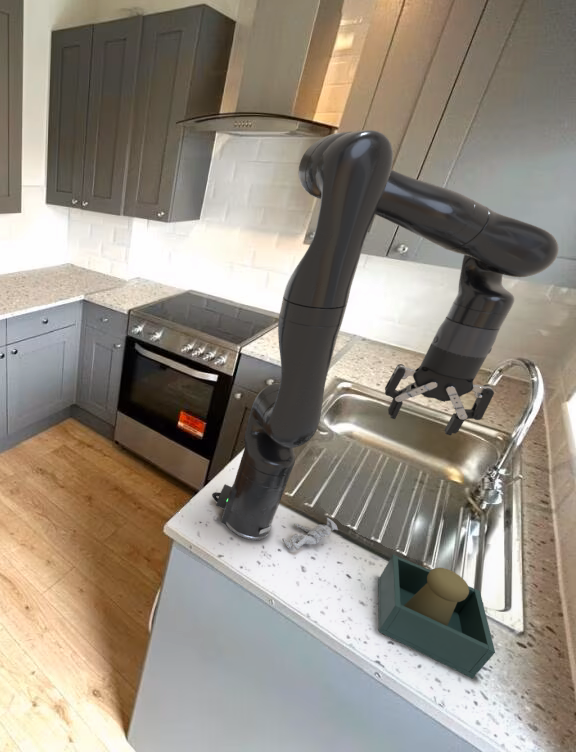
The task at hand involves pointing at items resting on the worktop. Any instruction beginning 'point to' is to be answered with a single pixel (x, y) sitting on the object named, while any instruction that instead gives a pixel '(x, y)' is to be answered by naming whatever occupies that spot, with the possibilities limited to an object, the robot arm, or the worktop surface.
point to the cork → (439, 595)
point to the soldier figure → (311, 534)
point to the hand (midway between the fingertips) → (419, 424)
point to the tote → (433, 621)
